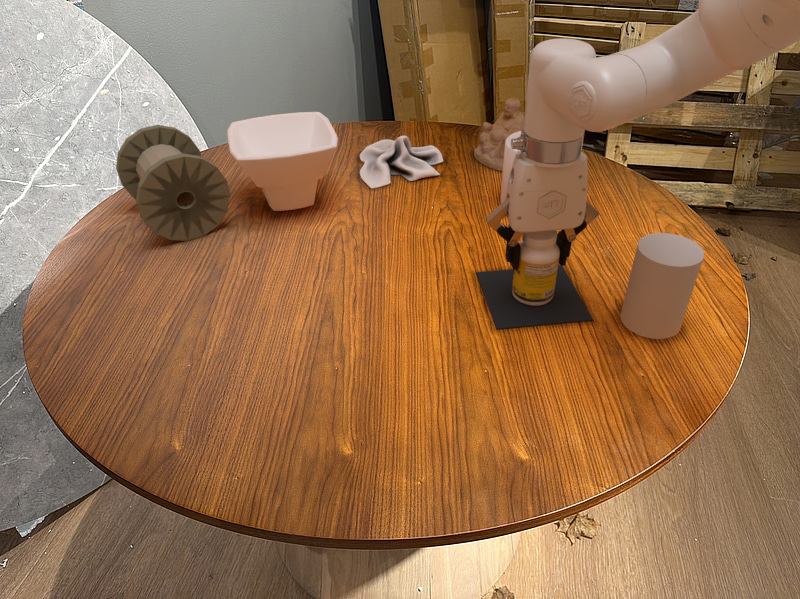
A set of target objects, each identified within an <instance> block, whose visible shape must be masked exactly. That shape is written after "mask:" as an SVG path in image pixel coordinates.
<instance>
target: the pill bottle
mask: <svg viewBox="0 0 800 599" xmlns="http://www.w3.org/2000/svg"><path fill="white" fill-rule="evenodd" d="M557 231H558V230H552V231H540V232H524V233H523V235H522V236H521V240H519V244H520V246H521V251H520V260H519V268H518V269H517V270H514V275H513V284H512V293H513V296H514V298H515V299H516V300H518V301H519V302H521V303H523V304H526V305H531V306H540V305H544V304H546V303H548V302H549V301H551V299H552V298H553V295H554V289H555V283H556V276H557V269H558V265H559V256H560V249H559V247H558V245H557V244H556V239H557V234H558V232H557Z"/></svg>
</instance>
